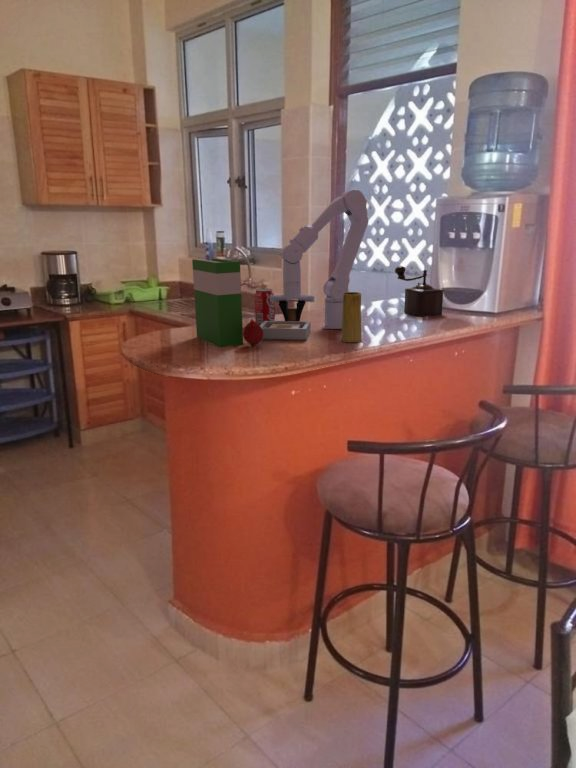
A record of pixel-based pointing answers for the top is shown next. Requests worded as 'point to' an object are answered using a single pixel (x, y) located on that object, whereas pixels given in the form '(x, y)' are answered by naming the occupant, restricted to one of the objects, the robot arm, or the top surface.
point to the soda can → (264, 306)
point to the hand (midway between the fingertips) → (292, 323)
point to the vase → (351, 317)
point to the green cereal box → (218, 301)
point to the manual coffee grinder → (421, 297)
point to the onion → (253, 333)
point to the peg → (292, 314)
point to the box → (286, 330)
